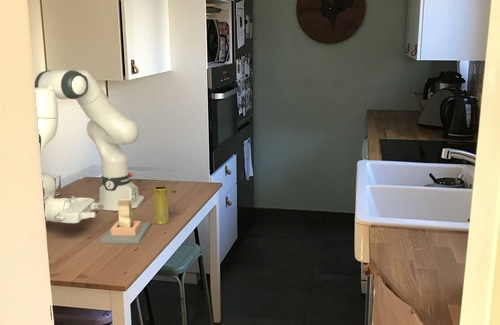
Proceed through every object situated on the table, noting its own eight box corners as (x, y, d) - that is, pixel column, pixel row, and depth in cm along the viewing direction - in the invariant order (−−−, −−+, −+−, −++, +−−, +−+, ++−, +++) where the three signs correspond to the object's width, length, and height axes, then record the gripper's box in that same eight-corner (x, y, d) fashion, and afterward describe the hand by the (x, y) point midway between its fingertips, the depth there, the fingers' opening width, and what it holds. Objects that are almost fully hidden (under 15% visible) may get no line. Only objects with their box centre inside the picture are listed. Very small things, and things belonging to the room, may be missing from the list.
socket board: (115, 224, 220) (115, 216, 219) (150, 225, 219) (150, 216, 219) (100, 243, 201) (99, 233, 200) (138, 243, 200) (138, 234, 199)
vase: (169, 219, 227) (168, 185, 223) (169, 223, 221) (168, 189, 217) (154, 220, 226) (152, 185, 222) (154, 224, 220) (152, 190, 216)
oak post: (122, 229, 212) (120, 198, 209) (133, 229, 212) (131, 198, 209) (119, 232, 208) (117, 202, 205) (130, 233, 208) (128, 202, 205)
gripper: (51, 210, 198) (89, 210, 198) (71, 194, 218) (106, 195, 218) (52, 227, 200) (90, 227, 199) (73, 210, 220) (107, 210, 219)
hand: (99, 210), depth 208 cm, fingers open, 8 cm apart
